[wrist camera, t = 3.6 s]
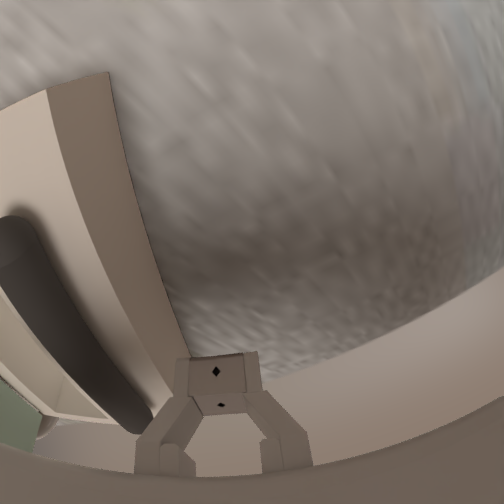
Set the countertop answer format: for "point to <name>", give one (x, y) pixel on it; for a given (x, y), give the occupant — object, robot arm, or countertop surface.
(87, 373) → the black rounded rod
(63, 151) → the beige rectangular box
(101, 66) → the countertop surface
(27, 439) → the cover
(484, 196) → the countertop surface
